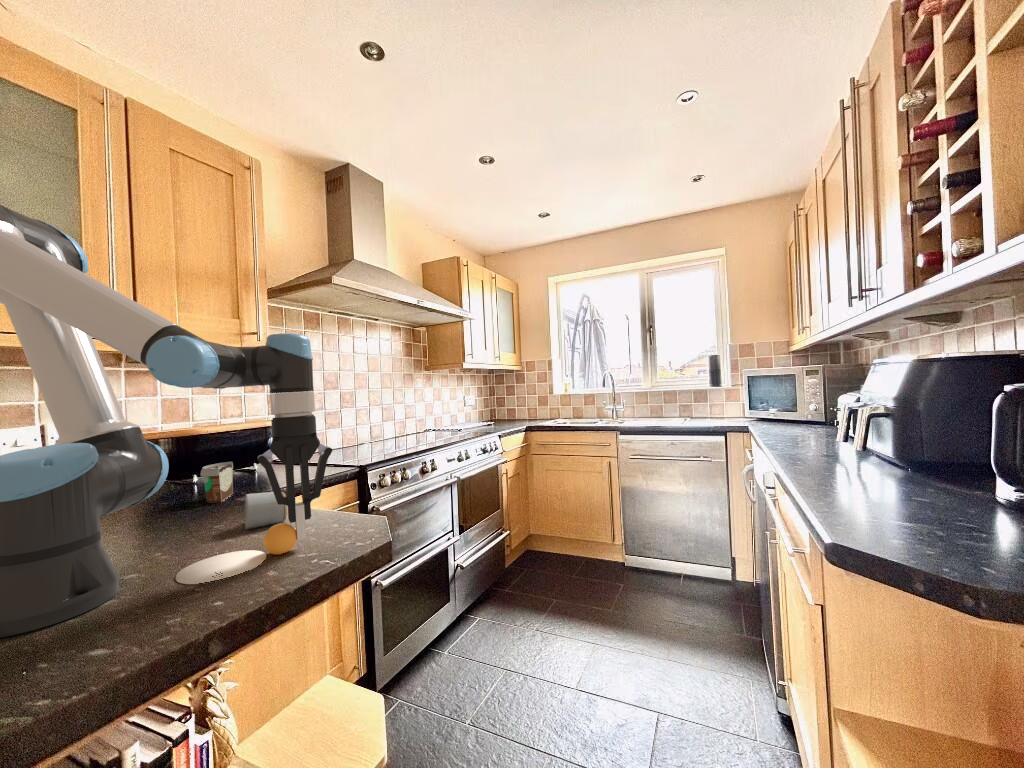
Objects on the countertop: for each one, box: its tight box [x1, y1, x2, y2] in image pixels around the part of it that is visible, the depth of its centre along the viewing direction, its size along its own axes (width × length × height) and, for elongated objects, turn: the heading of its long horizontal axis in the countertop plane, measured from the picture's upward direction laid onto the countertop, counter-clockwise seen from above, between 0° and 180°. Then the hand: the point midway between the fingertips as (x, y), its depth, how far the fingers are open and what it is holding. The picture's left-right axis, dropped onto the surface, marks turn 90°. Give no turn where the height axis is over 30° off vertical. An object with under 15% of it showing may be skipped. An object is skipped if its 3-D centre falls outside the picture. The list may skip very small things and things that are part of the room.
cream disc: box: [175, 549, 267, 585], centre depth 73 cm, size 13×13×1 cm
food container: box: [199, 461, 234, 504], centre depth 121 cm, size 12×6×10 cm, turn 17°
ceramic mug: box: [244, 491, 288, 530], centre depth 97 cm, size 11×8×8 cm
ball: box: [262, 522, 298, 556], centre depth 77 cm, size 6×6×6 cm
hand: (301, 537), depth 79 cm, fingers closed
